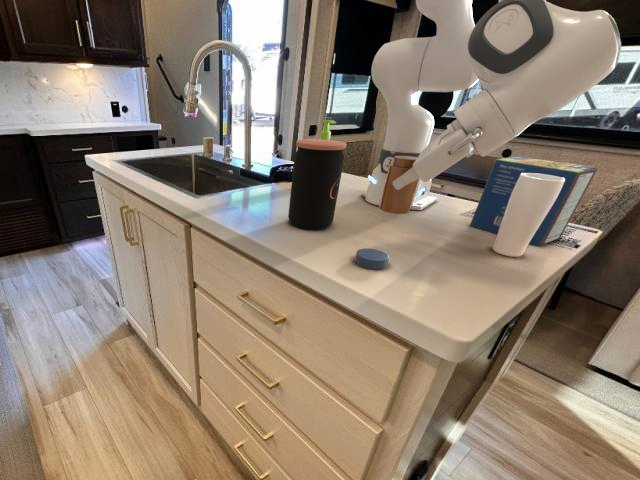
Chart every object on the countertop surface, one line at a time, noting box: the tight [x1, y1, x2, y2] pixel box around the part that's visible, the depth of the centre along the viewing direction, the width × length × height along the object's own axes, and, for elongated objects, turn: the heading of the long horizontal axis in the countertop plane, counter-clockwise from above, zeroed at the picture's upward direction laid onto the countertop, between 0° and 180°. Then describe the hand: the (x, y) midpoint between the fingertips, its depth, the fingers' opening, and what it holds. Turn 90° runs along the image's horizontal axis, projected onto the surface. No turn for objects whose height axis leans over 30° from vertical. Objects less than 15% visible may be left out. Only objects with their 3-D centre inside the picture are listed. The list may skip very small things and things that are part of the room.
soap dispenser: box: [318, 119, 337, 140], centre depth 113 cm, size 6×7×20 cm
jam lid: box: [354, 247, 390, 270], centre depth 63 cm, size 6×6×2 cm
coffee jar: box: [287, 138, 348, 231], centre depth 77 cm, size 11×11×18 cm
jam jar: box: [378, 156, 418, 215], centre depth 63 cm, size 5×5×9 cm
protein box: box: [469, 156, 599, 247], centre depth 76 cm, size 10×15×16 cm
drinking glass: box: [491, 173, 565, 258], centre depth 65 cm, size 7×7×15 cm
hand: (397, 182), depth 63 cm, fingers closed on jam jar, 5 cm apart
